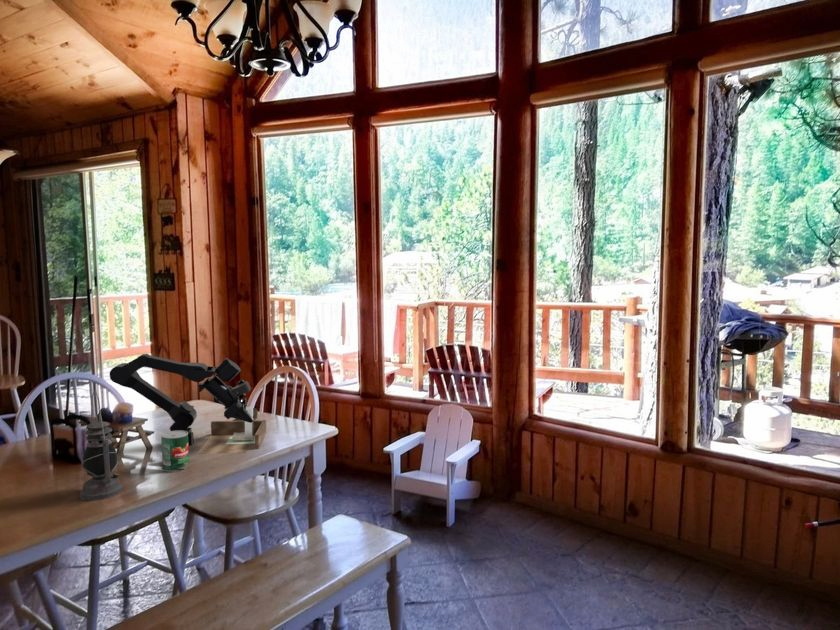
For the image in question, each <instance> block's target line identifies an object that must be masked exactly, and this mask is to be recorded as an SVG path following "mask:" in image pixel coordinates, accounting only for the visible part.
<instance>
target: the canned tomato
mask: <svg viewBox="0 0 840 630" xmlns="http://www.w3.org/2000/svg"><path fill="white" fill-rule="evenodd" d="M160 436H161V459H162V460H161V461H162V463H161V465H162V470H163V471H165V472H169V473H172V472H173V473H175V472H180V471H185V468H184V467H186V466H188V465H189V463H190V459H189V457H190V454H189V453H190V450H189V445H188V432H187V431H183V430H176V431H166V432H163V433H162V434H161V435H160Z"/></svg>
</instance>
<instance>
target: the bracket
mask: <svg viewBox="0 0 840 630" xmlns="http://www.w3.org/2000/svg"><path fill="white" fill-rule="evenodd" d="M253 408H254V406H251V405H250V406H248V407H245V411H246V412H247V413H248V415H249V416H250V417H251V418H252V420H253ZM252 439H253V422H252V423H249V422H246V421H245V432H236V433H234V434H233V441H235V440H252Z"/></svg>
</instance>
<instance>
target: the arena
mask: <svg viewBox="0 0 840 630" xmlns="http://www.w3.org/2000/svg"><path fill="white" fill-rule="evenodd" d="M210 429H211V430H210V433H211V435H210V437H208V438H207V440H206V441H205V442H204V444H203V445H202V446H201V448H200V449H199V451H198V452H197V453H196V455H207V454H208V455H210V454H215V455H216V454H217V455H218V454H246V453H247V451H248V450H260V447H261V445H262V444H263V441H264V439H265V437H266V435H267V420H266V419H255V420H253V436H255V444H226V443H227V441H228V440H229V438H230V437H233V434H234V433H236V432H245V421H232V420H212V421H210Z"/></svg>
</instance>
